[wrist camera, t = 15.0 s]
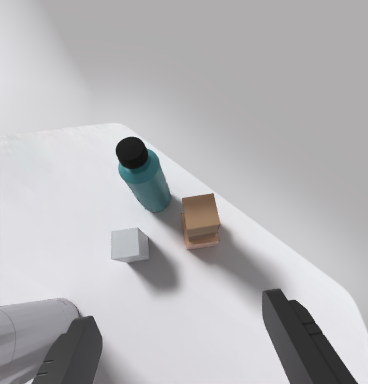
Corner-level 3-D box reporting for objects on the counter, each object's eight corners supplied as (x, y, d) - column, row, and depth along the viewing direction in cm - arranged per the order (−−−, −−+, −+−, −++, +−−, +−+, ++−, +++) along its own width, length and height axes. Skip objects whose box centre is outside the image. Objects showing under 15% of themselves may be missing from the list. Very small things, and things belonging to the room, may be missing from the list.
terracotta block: (216, 245, 41) (219, 240, 36) (186, 249, 41) (185, 245, 36) (211, 216, 43) (212, 208, 39) (182, 220, 43) (181, 213, 39)
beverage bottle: (177, 204, 44) (164, 152, 26) (151, 221, 43) (117, 178, 25) (162, 182, 47) (140, 119, 28) (137, 197, 46) (96, 142, 27)
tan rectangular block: (214, 237, 37) (220, 224, 27) (189, 241, 36) (186, 229, 27) (209, 213, 38) (213, 193, 29) (185, 217, 38) (181, 198, 29)
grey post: (149, 259, 40) (138, 254, 33) (126, 262, 40) (111, 259, 33) (147, 236, 42) (137, 227, 35) (126, 239, 42) (111, 231, 35)
